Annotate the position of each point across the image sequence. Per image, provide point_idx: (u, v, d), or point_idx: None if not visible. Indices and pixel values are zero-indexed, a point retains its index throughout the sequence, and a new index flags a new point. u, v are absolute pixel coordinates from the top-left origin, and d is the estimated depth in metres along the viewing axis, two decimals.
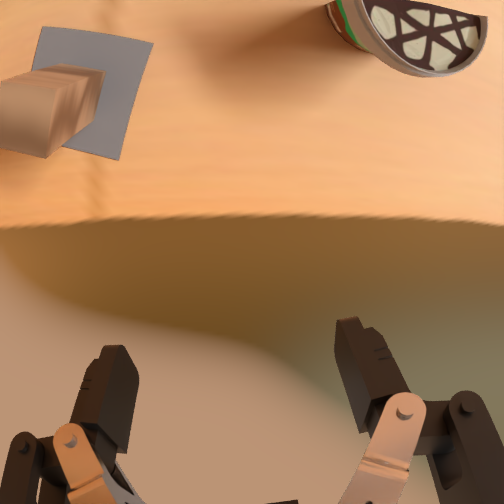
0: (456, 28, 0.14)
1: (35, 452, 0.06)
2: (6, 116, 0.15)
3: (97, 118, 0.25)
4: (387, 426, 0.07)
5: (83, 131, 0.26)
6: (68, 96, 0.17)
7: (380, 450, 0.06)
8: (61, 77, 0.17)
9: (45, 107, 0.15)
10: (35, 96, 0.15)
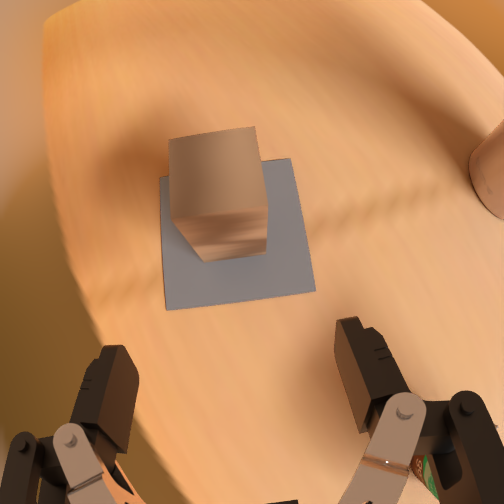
0: None
1: (35, 452, 0.06)
2: (212, 146, 0.17)
3: (207, 265, 0.25)
4: (387, 426, 0.07)
5: (187, 253, 0.26)
6: (250, 223, 0.18)
7: (380, 450, 0.06)
8: None
9: (240, 198, 0.16)
10: (250, 179, 0.16)
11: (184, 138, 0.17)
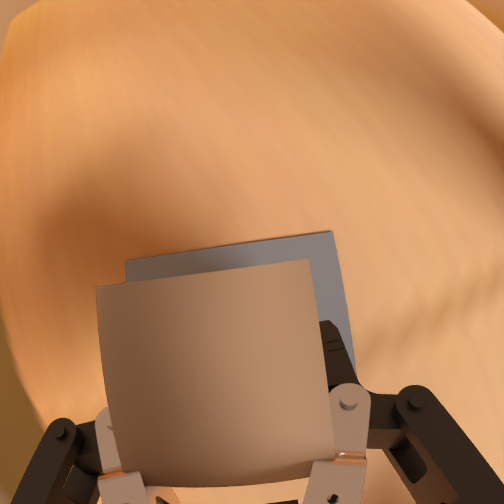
0: None
1: (75, 438, 0.07)
2: (199, 321, 0.07)
3: None
4: None
5: None
6: None
7: None
8: None
9: (274, 461, 0.06)
10: (298, 418, 0.06)
11: (130, 287, 0.07)
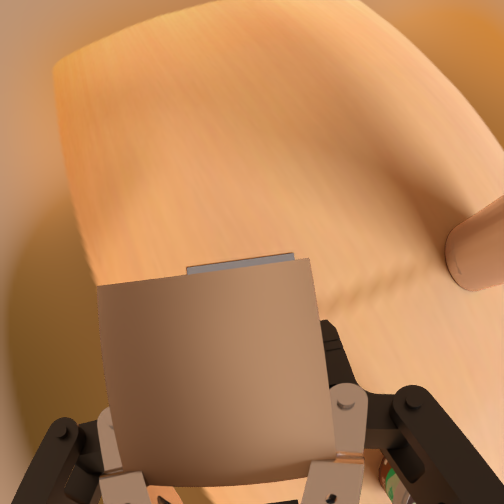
0: None
1: (77, 438, 0.07)
2: (200, 320, 0.07)
3: None
4: None
5: None
6: None
7: None
8: None
9: (275, 460, 0.06)
10: (299, 417, 0.06)
11: (131, 287, 0.07)
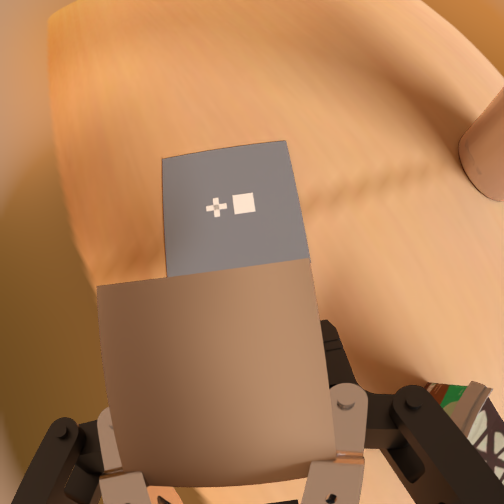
0: None
1: (77, 438, 0.07)
2: (200, 321, 0.07)
3: (207, 239, 0.27)
4: None
5: (187, 228, 0.27)
6: None
7: None
8: None
9: (275, 461, 0.06)
10: (299, 417, 0.06)
11: (131, 287, 0.07)
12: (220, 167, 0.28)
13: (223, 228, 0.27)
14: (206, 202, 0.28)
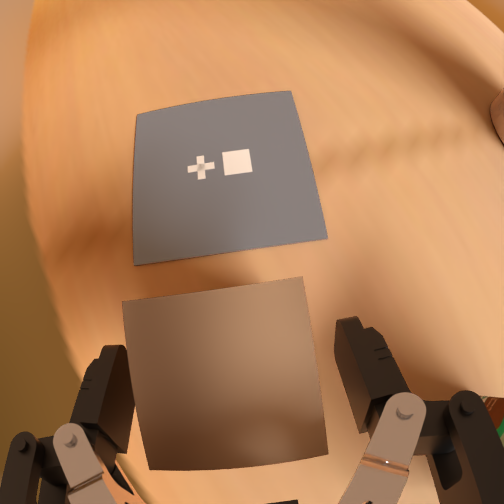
0: None
1: (35, 452, 0.06)
2: (213, 329, 0.08)
3: (187, 208, 0.20)
4: (387, 426, 0.07)
5: (162, 194, 0.20)
6: None
7: (380, 450, 0.06)
8: None
9: (276, 445, 0.07)
10: (295, 408, 0.07)
11: (152, 302, 0.08)
12: (207, 120, 0.21)
13: (209, 193, 0.20)
14: (188, 162, 0.21)
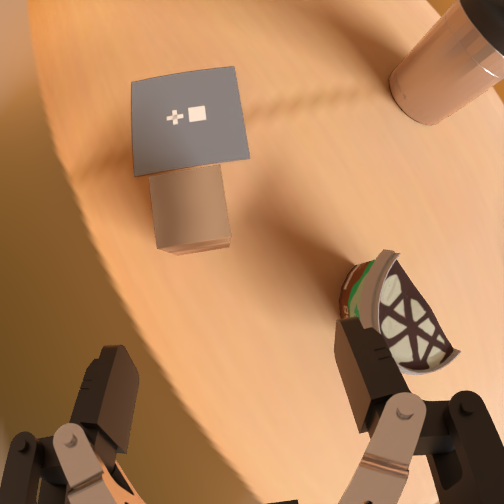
0: (431, 342, 0.23)
1: (35, 452, 0.06)
2: (185, 184, 0.21)
3: (166, 141, 0.31)
4: (387, 426, 0.07)
5: (151, 134, 0.31)
6: (217, 241, 0.23)
7: (380, 450, 0.06)
8: None
9: (209, 230, 0.21)
10: (217, 214, 0.21)
11: (161, 175, 0.21)
12: (179, 87, 0.31)
13: (180, 132, 0.31)
14: (166, 114, 0.31)
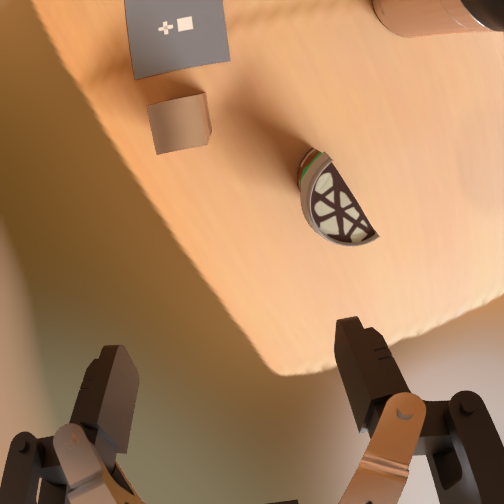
0: (355, 224, 0.35)
1: (35, 452, 0.06)
2: (173, 110, 0.27)
3: (159, 49, 0.31)
4: (387, 426, 0.07)
5: (146, 43, 0.31)
6: None
7: (380, 450, 0.06)
8: (206, 124, 0.31)
9: (192, 141, 0.28)
10: (196, 130, 0.28)
11: (156, 104, 0.26)
12: None
13: (171, 41, 0.31)
14: (158, 25, 0.30)
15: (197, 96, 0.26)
